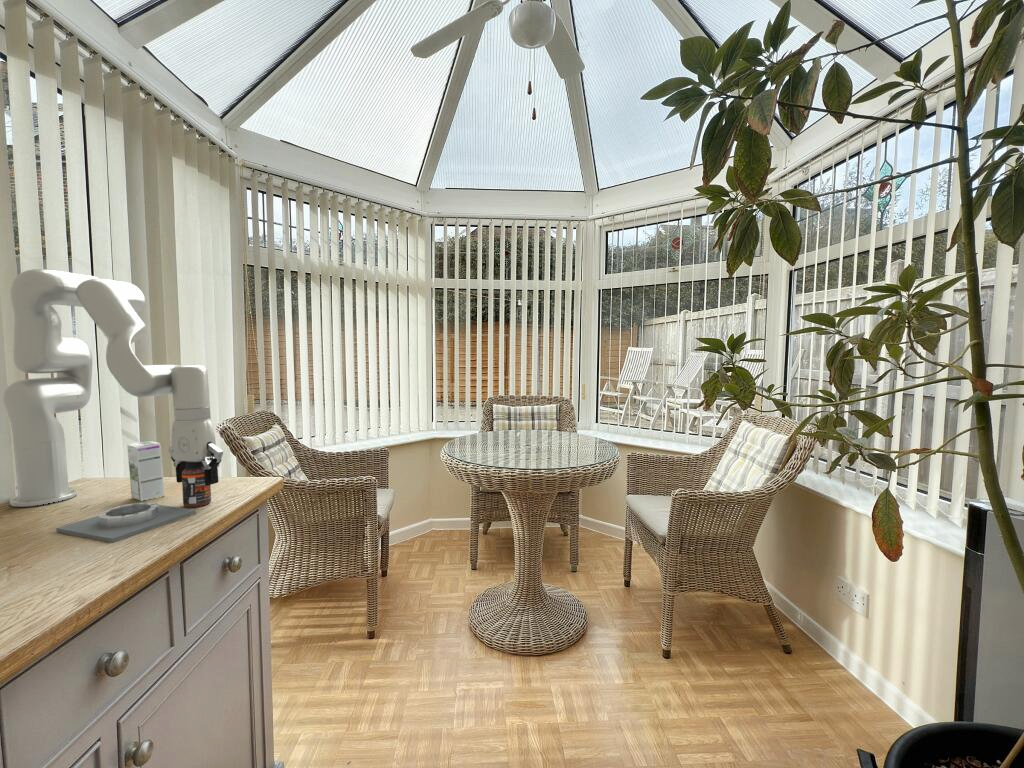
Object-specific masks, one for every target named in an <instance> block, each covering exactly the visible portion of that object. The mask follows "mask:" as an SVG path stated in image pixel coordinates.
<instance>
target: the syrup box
mask: <svg viewBox="0 0 1024 768" xmlns="http://www.w3.org/2000/svg"><path fill="white" fill-rule="evenodd" d="M162 458H163V457H162V447H161V443H160V442H155V441H153V440H150V441H149V440H148V441H147V440H146V441H140V442H134V443H130V444H127V459H128V467H129V468H128V469H129V481H130V493H131V498H132V499H134V500H136V501H138V500H139V501H138V502H144V501H143V500H146V501H149V500H148V499H151V500H153V499H152V498H155V499H157V498H156V497H159V498H161V497H160V496H163V497H165V496H164V495H165V483H164V482H165V481H164V470H163V460H162Z"/></svg>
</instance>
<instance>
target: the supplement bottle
mask: <svg viewBox="0 0 1024 768" xmlns="http://www.w3.org/2000/svg"><path fill="white" fill-rule="evenodd" d="M205 469H206V467H205V466H204V464H203V463H202V461H200V462H186V468H185V470H183V472H182V482H181V486H182V504H183V506H184V508H199V507H203V506H207V505H208V504H210V503H211V501H212V489H211V485H208V486H207V485H205V477H204V470H205Z"/></svg>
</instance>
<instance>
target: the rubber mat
mask: <svg viewBox="0 0 1024 768" xmlns="http://www.w3.org/2000/svg"><path fill="white" fill-rule="evenodd" d="M157 506H158V516H156V517H155V518H153V519H151V520H148V521H145V522H142V523H139V524H134V525H128V526H123V527H109V528H108V527H102V526H99V515H95V516H94V517H93V516H92V517H90V518H86V519H82V520H79V521H75V522H73V523H69V524H65V525H62V526H59V527H56V529H55V530H56V531H57V533H60V532H61V533H62V534H66V535H71V536H78V537H80V538H81V537H83V538H87V539H93V540H98V541H101V542H107V543H116V542H117V541H120V540H123V539H126V538H129V537H132V536H136V535H138V534H141V533H144V532H147V531H150V530H153V529H155V527H156V528H158V526H159V527H161V526H164V525H167V524H169V523H173V522H176V521H178V520H181V518H182V519H184V518H187V517H190V516H193V515H196V514H197V510H196V509H190V508H186V507H178V506H176V507H175V506H170V505H164V504H163V505H162V504H157ZM132 514H136V513H132ZM127 515H131V514H127ZM122 516H125V515H122ZM149 529H150V530H149Z"/></svg>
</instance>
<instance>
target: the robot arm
mask: <svg viewBox="0 0 1024 768" xmlns="http://www.w3.org/2000/svg"><path fill="white" fill-rule="evenodd" d="M10 298H11V303H12V308H13V313H14V325H13V326H14V327H13V330H14V331H13V361H14V365H15V367H16V368H17V369H18V370H19V371H21V372H23V373H27V374H56V377H39V378H37V377H36V378H27V379H26V378H25V379H20V380H18V381H15V382H12V383H11V384H9V385H8V386H7V387H6V388H5V389H4V392H3V394H2V395H3V397H2V399H3V403H4V408H5V410H6V412H7V415H8V418H9V422H10V427H11V433H12V443H13V453H14V464H15V465H14V466H15V476H16V486H15V489H16V490H17V496H15V497H13V498H11V499H9V505H10V506H11V507H15V508H18V507H19V508H25V507H35V506H36V507H37V505H38V506H43V504H44V505H48V503H50V504H54V503H53V502H55V503H59V502H62V500H63V501H66V500H69V499H72V498H74V497H75V495H76V496H77V494H78V490H77V489H75V488H71V487H69V477H68V475H69V474H68V464H67V463H68V462H67V453H66V452H67V450H66V440H65V439H66V438H65V431H64V428H63V425H62V424H61V422H60V421H59V420H58V419H57V418H56V416H55V415H54V414H61V413H67V412H74V411H78V410H81V409H83V408H84V407H86V406H87V405H88V403H89V401H90V399H91V395H92V379H93V377H92V376H93V354H92V351H91V348H90V347H89V346H88V344H87V343H86V342H85V341H83V339H81V338H77V337H72V336H62V320H61V317H60V316H59V314H58V312H57V310H56V309H55V308H54V307H53V306H54V305H55V306H56V305H57V306H67V307H68V306H69V307H77V308H78V307H79V308H80V307H81V308H83V309H84V310H85V312H86V313H87V314H88V315H89V317H90V318H91V319H92V321H93V322H94V323H95V324H96V326H97V328H98V329H99V330H100V332H101V333H102V335H104V337H105V338H106V341H107V345H106V348H105V361H106V364H107V365H106V366H107V368H108V370H109V373H111V376H113V377H114V379H115V380H116V382H117V383H118V384H119V386H121V388H122V389H123V390H124V391H125V392H126V393H128V394H129V395H131V396H134V397H137V398H149V397H155V396H156V397H157V396H166V395H172V405H173V417H174V420H173V422H172V428H171V446H170V447H168V452H169V454H170V459H171V461H172V462H173V466H174V467H175V477H176V483H182V472H183V470H185V468H186V462H200V461H202V463H203V464H204V466H205V467H206V469H205V470H204V477H205V485H207V486H208V485H210V486H211V485H215V484H217V483H219V470H218V469H219V467H220V464H221V462H222V457H223V455H224V451H223V450H222V449H221V448H220V447H218V446H217V442H216V435H215V430H214V424H213V421H212V418H211V416H212V415H211V403H210V387H209V373H208V369H207V367H206V366H205V365H203V364H202V365H201V364H184V365H183V364H181V365H179V364H169V363H168V364H167V363H166V364H147V365H146V364H142V362H141V361H140V360H139V358H138V357H137V355H136V354H135V352H134V351H133V349H132V345H131V344H133V343H135V342H137V341H138V340H140V339H141V338H142V337H143V336H144V335H145V334H146V333H147V325H146V324H145V322H144V321H143V320H142V318H141V317H140V316H139V313H140V312H142V311H143V310H144V308H145V307H146V306H145V305H146V298H145V295H144V293H143V291H142V290H141V289H140V288H139V287H138V286H137V285H135V284H133V283H131V282H126V281H120V280H114V279H109V278H105V277H100V276H94V275H87V274H83V273H76V272H69V271H64V270H58V269H57V270H56V269H45V268H35V269H34V268H33V269H28V270H24V271H22V272H21V273H19V274H18V275H16V277H15V278H14V279H13V281H12V284H11V286H10ZM209 461H210V462H209ZM58 501H59V502H58Z"/></svg>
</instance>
